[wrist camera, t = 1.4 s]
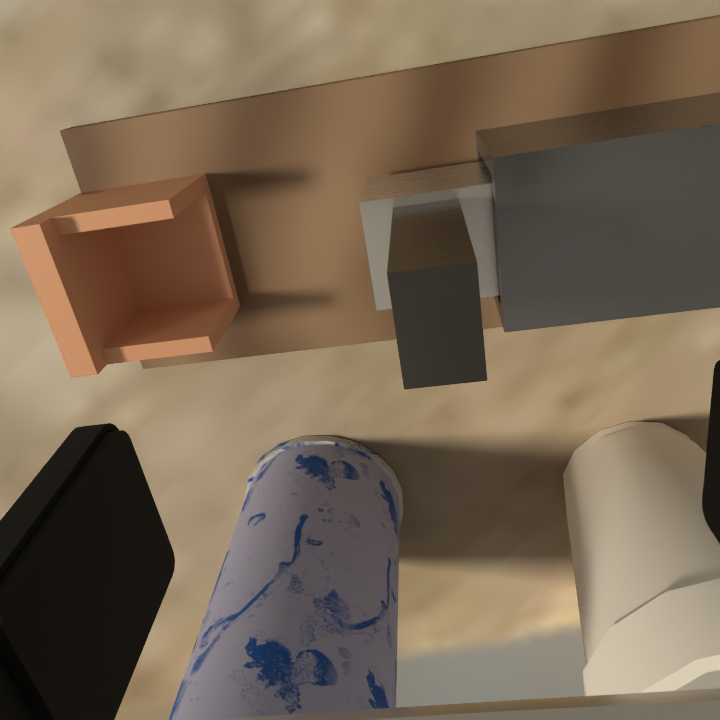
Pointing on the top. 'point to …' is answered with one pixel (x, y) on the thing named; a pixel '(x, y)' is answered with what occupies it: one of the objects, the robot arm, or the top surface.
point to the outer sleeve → (607, 213)
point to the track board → (364, 164)
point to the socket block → (131, 273)
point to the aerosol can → (303, 590)
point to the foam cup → (643, 561)
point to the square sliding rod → (434, 267)
